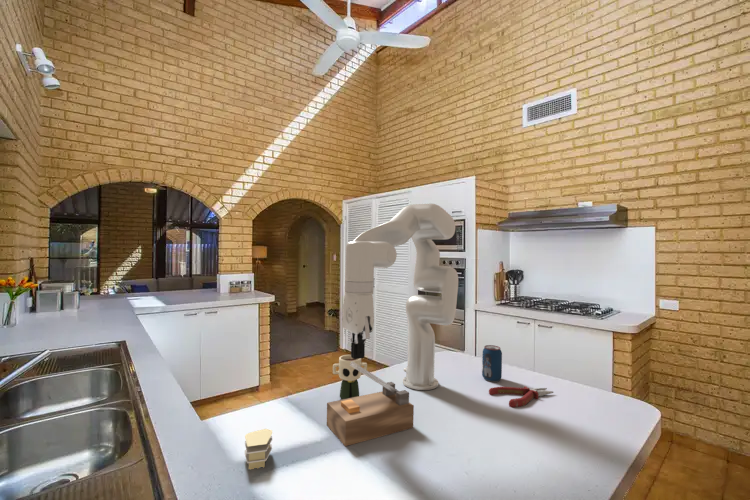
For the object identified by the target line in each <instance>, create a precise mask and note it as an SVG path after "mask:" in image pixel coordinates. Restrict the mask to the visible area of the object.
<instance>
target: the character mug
mask: <svg viewBox="0 0 750 500" xmlns="http://www.w3.org/2000/svg"><path fill="white" fill-rule="evenodd" d="M338 358H339V359H338V363H334V364H333V365H332V374H333V375H338V376H339V378H340V380H342V381H341V384H340V390H339V398H340V400H343V399H348V398H353V397H358V396H360V388H359V387H360V386H359V382H358V380H359V379H360V378H361V375H362V373H361V372H359V371H358V370H356V369H355V368H353V367H352V366H350V363H351V362H352V361H353V362H354V363H356V364H357V365H359V366H361V367H363V368H364V369H365V370H367V371H368V363H367V362H362V358H359V359H353V358H352V357H351V354H344V355H341V356H339V357H338ZM337 367H338V370H337Z"/></svg>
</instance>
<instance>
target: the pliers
mask: <svg viewBox="0 0 750 500" xmlns="http://www.w3.org/2000/svg"><path fill="white" fill-rule="evenodd" d="M547 389H548V388H547V387H534V388H530V387H528V386H523V387H512V386H495V387H490V388H489V389H488V394H489V395H490V396H493V395H499V394H500V395H502V394H504V395H505V394H506V395H518V396H521V397H517V398H512V399H510V400H509V401H508V406H509V407H510V408H518V407H524V406H526V405H527V404H529V403H530V402H531V401H532V400H533V399H534V400H539V397H542V396H547V395H550V394H553V393H554V391H553V390H552V391H551V390H547Z"/></svg>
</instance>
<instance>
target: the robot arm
mask: <svg viewBox="0 0 750 500" xmlns="http://www.w3.org/2000/svg"><path fill="white" fill-rule="evenodd" d="M455 233H456V222H455V219H454V218H453V217H452V215H451V214H450V213H448V211H446V210H445V209H444V208H443V207H442V206H440V205H438V204H437V203H418V204H417V203H415V204H409V205H406V206H404V207H403V208H402V209H401V210H399V211H398V212H397V213H396V214H395V216H393V217H392V218H391V219H390V220H389V221H387V222H384V223H382V224H380V225H377V226H374V227H372V228H370V229H367V230H365V231H363V232H362V233H360V234H359V235H358V236H357V237H355V239H353V240H352V241H348V242H347V243H346V245H345V261H344V262H345V265H344V267H345V268H344V270H345V273H344V274H345V275H344V277H345V278H344V280H345V281H344V297H343V302H342V303H343V304H342V313H341V314H342V318H341V326H342V328H343V329H344V330H346V331H347V332H348V333H349V334H350V335H349V336H350V338H349V339H350V342H351V343H350V355H351V357H352V358H353V359H359V358H361V359H364V358H365V356H366V354H365V351H366V350H365V346H366V345H365V344H366V342H367V340H369V339H370V338H371V336H370V335H371V334H370V333H373V331H374V326H375V324H374V322H375V312H374V311H375V310H374V309H375V308H374V298H373V297H374V296H373V295H374V285H375V284H374V274H375V272H374V271H375V269H388V268H390V267H392V266H393V265H394V264H395V262H396V260H397V255H398V253H397V250H396V248H395V247H399V246H402V245H405V244H406V243H407V242H408V241H410V240H411V239H412V242H413V245H414V247H415V251H416V252H415V253H416V256H415V258H416V259H415V263H414V264H415V266H414V274H413V286H414V288H415V289H416V290H418V291H421V292H425V293H426V292H428V293H436V294H437V293H439V294H441V296H437V295H436V296H434V295H425V294H415V295H411V296H410V297H409V298H407V300H406V303H405V313H406V319H407V366H406V367H404V368H403V372H404V373H405V374H406V376H404V377H403V378H402V384H403V385H404V386H405V387H407V388H408V389H412V390H417V391H418V390H419V391H429V390H435V389H436V388H438V387H439V380H438V379H437V378H436V377H435V358H436V357H435V351H436V350H435V349H436V346H435V344H436V336H435V332H434V329H433V327H432V325H433V324H435V325H441V326H449V325H451V324H452V323H453V322H454V320H455V318H456V312H457V311H456V310H457V302H458V291H459V274H458V272H457V270H456V269H455V268H454V267H452V266H448V265H447V266H446V265H440V257H441V253H440V250H439V248H438V247H437V245H436V243H435V241H433V240H449V239H451V238H453V236H454V235H455ZM431 324H432V325H431Z"/></svg>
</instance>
